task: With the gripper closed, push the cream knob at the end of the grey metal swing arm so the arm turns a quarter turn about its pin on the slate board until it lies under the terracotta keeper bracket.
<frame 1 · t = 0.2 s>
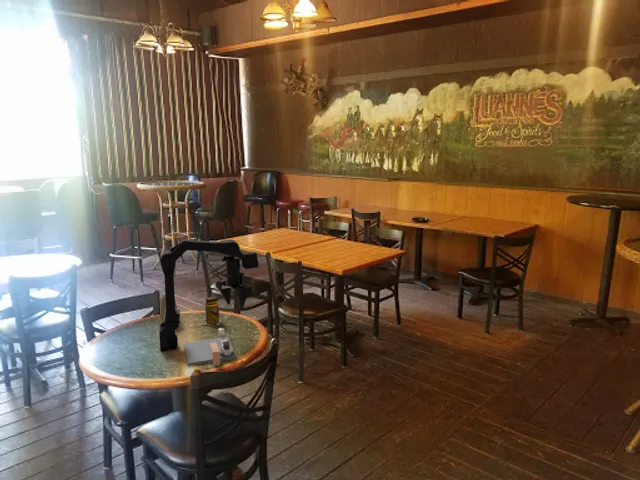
hand: (235, 306, 208), 14 cm above the table, tool pointing down, fingers open, 9 cm apart
condiment: (211, 323, 230), on the table
squeeze bottle: (169, 322, 232), on the table
swing arm: (224, 341, 198), point 4 cm above the table, hinge at 0.0°
keeper bracket: (215, 359, 191), resting on slate board
slate board: (209, 352, 198), on the table
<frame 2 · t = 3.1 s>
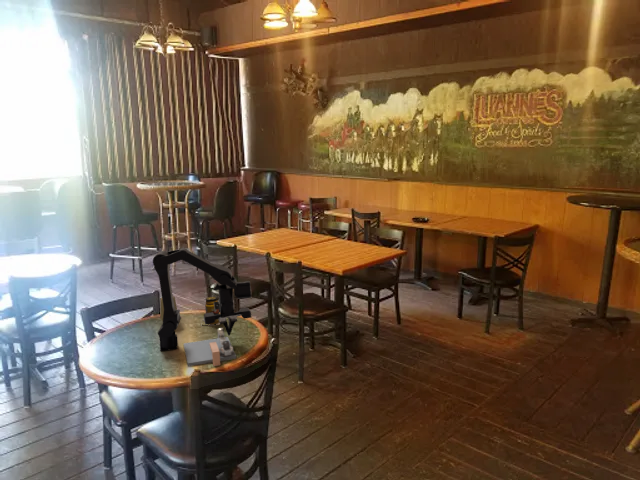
hand: (228, 335, 206), 3 cm above the table, tool pointing down, fingers closed
swing arm: (223, 341, 198), point 4 cm above the table, hinge at 0.8°, touching gripper
everything else where it was.
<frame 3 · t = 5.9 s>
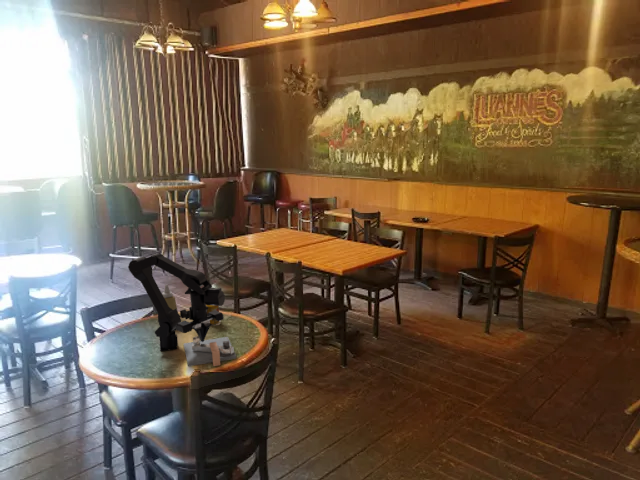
hand: (202, 341, 199), 4 cm above the table, tool pointing down, fingers closed
swing arm: (212, 345, 195), point 4 cm above the table, hinge at 53.7°, touching gripper
everything else where it was.
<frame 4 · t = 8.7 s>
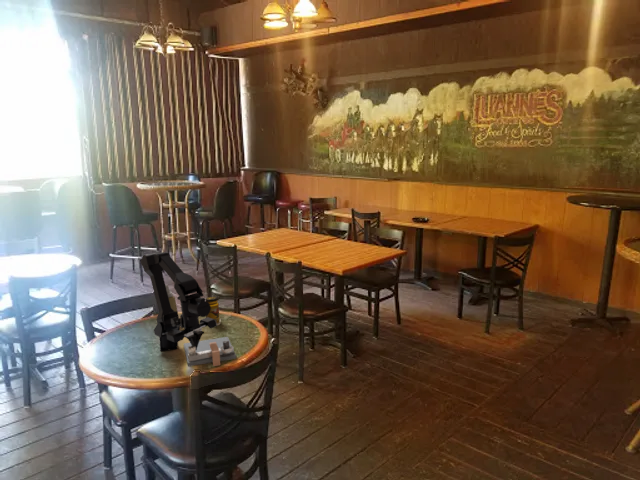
hand: (195, 350, 191), 4 cm above the table, tool pointing down, fingers closed
swing arm: (210, 349, 190), point 4 cm above the table, hinge at 95.3°, touching gripper
everything else where it was.
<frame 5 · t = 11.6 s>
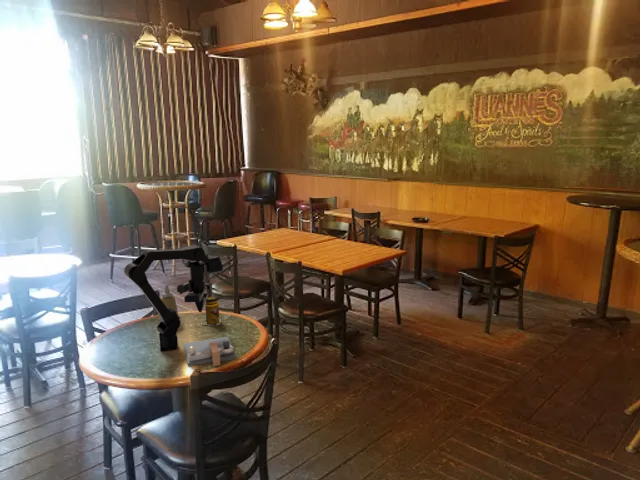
hand: (200, 311, 209), 12 cm above the table, tool pointing down, fingers closed
swing arm: (210, 349, 190), point 4 cm above the table, hinge at 95.3°
everything else where it was.
at the end: swing arm at +95° (first picture: +0°) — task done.
